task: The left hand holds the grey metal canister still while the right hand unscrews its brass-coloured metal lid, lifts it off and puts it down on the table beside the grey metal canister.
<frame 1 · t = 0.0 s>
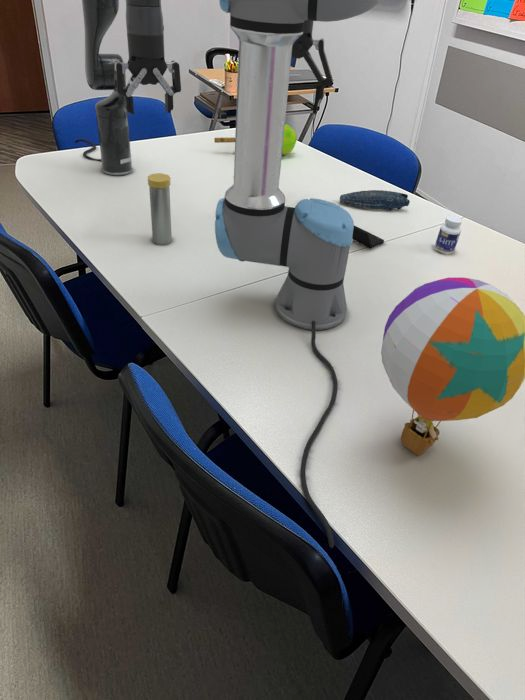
left hand: (150, 113, 118), 29 cm above the table, tool pointing down, fingers open, 8 cm apart
right hand: (288, 109, 135), 28 cm above the table, tool pointing down, fingers open, 13 cm apart
handheld gaming console: (357, 240, 141), on the table
toy: (415, 446, 84), on the table
decorative tree: (255, 154, 190), on the table
lid: (159, 178, 123), point 16 cm above the table, screwed on, not yet turned
fish model: (372, 206, 160), on the table
grey metal canister: (162, 240, 133), on the table
pill bottle: (443, 250, 140), on the table
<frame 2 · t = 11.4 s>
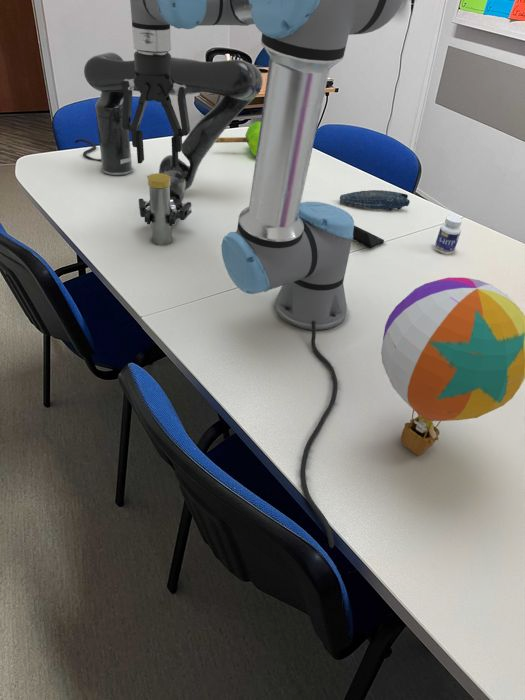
left hand: (159, 221, 127), 6 cm above the table, tool horizontal, fingers closed on grey metal canister, 4 cm apart
right hand: (158, 163, 120), 20 cm above the table, tool pointing down, fingers open, 7 cm apart
grey metal canister: (162, 240, 133), on the table, touching left hand
everything else where it was.
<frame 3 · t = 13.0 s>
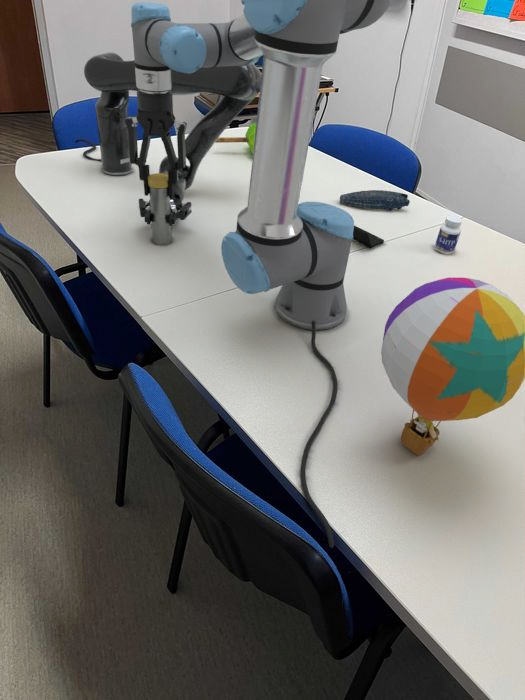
left hand: (159, 221, 127), 6 cm above the table, tool horizontal, fingers closed on grey metal canister, 4 cm apart
right hand: (159, 194, 125), 12 cm above the table, tool pointing down, fingers closed on lid, 5 cm apart
lid: (159, 178, 123), point 16 cm above the table, screwed on, not yet turned, touching right hand
grey metal canister: (162, 240, 133), on the table, touching left hand
everything else where it was.
when the right hand's fingers open (12 cm above the table, at t = 14.3 s): lid stays where it is, point 16 cm above the table.
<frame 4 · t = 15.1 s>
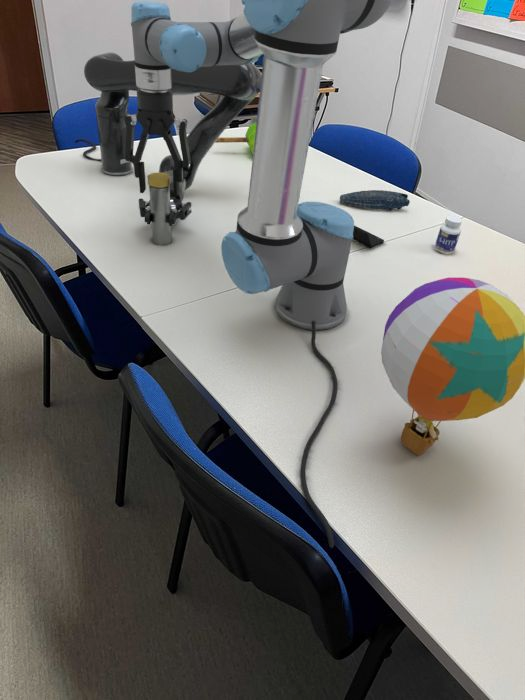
left hand: (159, 221, 127), 6 cm above the table, tool horizontal, fingers closed on grey metal canister, 4 cm apart
right hand: (159, 192, 125), 13 cm above the table, tool pointing down, fingers open, 7 cm apart
lid: (158, 178, 123), point 16 cm above the table, turned 86° so far, risen 0.2 cm, still on its thread
grey metal canister: (162, 240, 133), on the table, touching left hand
everything else where it was.
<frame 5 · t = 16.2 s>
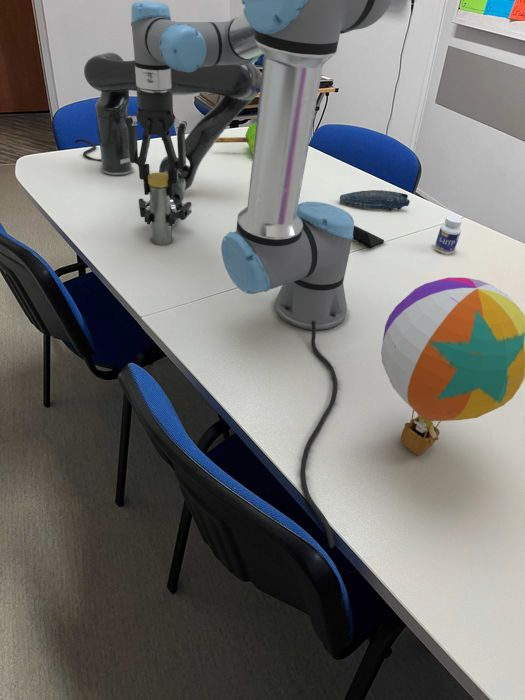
left hand: (159, 221, 127), 6 cm above the table, tool horizontal, fingers closed on grey metal canister, 4 cm apart
right hand: (159, 193, 125), 12 cm above the table, tool pointing down, fingers closed on lid, 5 cm apart
lid: (159, 178, 123), point 16 cm above the table, turned 86° so far, risen 0.2 cm, still on its thread, touching right hand
grey metal canister: (162, 240, 133), on the table, touching left hand
everything else where it was.
when the right hand's fingers open (0 cm above the table, at t = 22.6 s): lid drops 3 cm, point 1 cm above the table.
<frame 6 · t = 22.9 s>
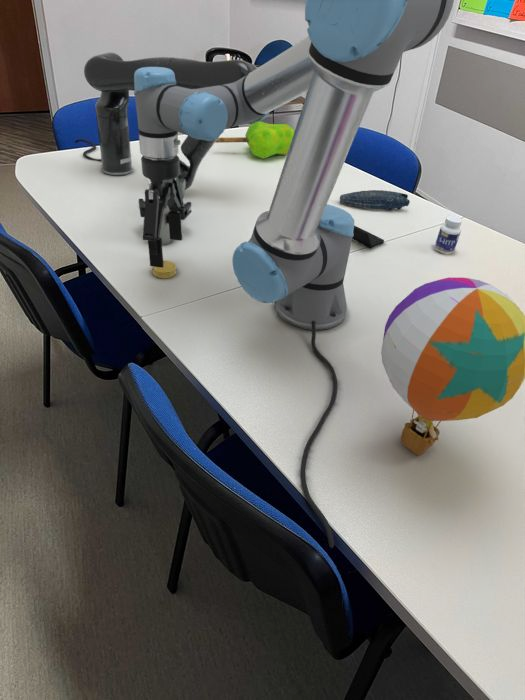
left hand: (159, 221, 127), 6 cm above the table, tool horizontal, fingers closed on grey metal canister, 4 cm apart
right hand: (166, 252, 116), 6 cm above the table, tool pointing down, fingers open, 13 cm apart
lid: (164, 267, 120), point 1 cm above the table, off its thread
grey metal canister: (162, 240, 133), on the table, touching left hand
everything else where it was.
when the left hand's fingers open (6 cm above the table, at t = 23.2 s): grey metal canister stays where it is, on the table.
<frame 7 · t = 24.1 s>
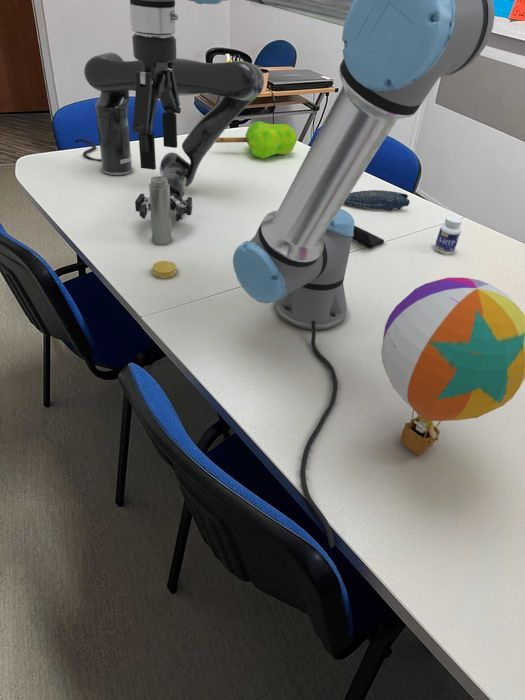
left hand: (160, 216, 129), 6 cm above the table, tool horizontal, fingers open, 8 cm apart
right hand: (160, 157, 104), 27 cm above the table, tool pointing down, fingers open, 13 cm apart
grey metal canister: (162, 240, 133), on the table
everything else where it was.
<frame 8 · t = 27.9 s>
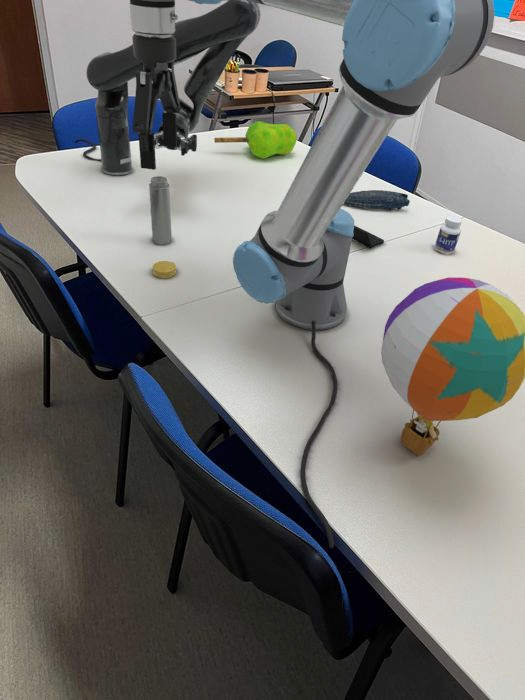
left hand: (165, 150, 129), 19 cm above the table, tool horizontal, fingers open, 8 cm apart
right hand: (160, 157, 104), 27 cm above the table, tool pointing down, fingers open, 13 cm apart
nothing on the table moved.
at the end: lid came off its thread; lid point 1.3 cm above the table; the left hand is holding nothing; the right hand is holding nothing; grey metal canister tilted 0°; grey metal canister moved 0.0 cm from its start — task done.
